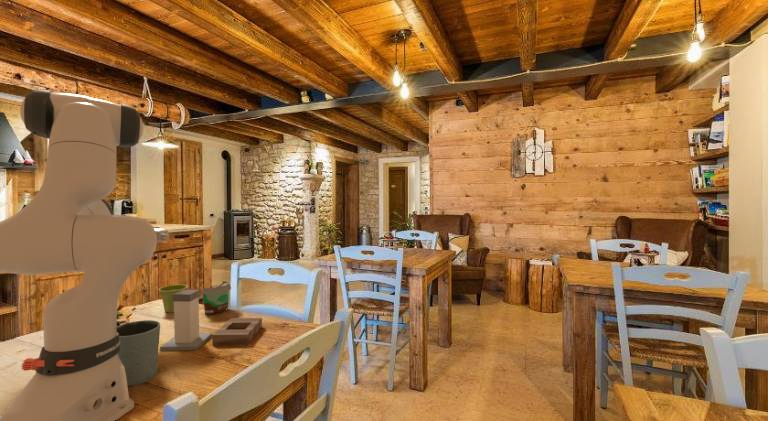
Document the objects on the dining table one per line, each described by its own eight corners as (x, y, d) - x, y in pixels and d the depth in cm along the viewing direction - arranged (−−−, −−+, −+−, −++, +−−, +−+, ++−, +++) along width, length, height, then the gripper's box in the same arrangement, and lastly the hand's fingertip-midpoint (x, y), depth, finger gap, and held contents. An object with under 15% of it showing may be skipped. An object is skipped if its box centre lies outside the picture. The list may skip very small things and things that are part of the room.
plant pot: (179, 314, 130) (178, 290, 130) (153, 314, 131) (152, 290, 130) (193, 306, 140) (192, 284, 139) (169, 306, 140) (168, 284, 140)
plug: (191, 343, 102) (190, 294, 102) (173, 343, 103) (172, 294, 102) (200, 336, 107) (199, 289, 107) (183, 336, 108) (182, 289, 107)
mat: (196, 349, 100) (196, 346, 100) (159, 350, 100) (159, 347, 100) (212, 336, 110) (212, 332, 110) (178, 336, 110) (178, 333, 110)
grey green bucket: (152, 363, 92) (151, 317, 92) (168, 376, 86) (167, 326, 85) (103, 379, 84) (102, 328, 84) (117, 394, 78) (115, 339, 77)
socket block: (247, 344, 104) (247, 334, 104) (212, 345, 103) (212, 334, 103) (261, 327, 118) (261, 318, 118) (230, 327, 117) (230, 318, 117)
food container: (217, 317, 127) (216, 289, 127) (202, 316, 129) (201, 288, 128) (238, 307, 139) (237, 281, 139) (224, 306, 141) (223, 280, 140)
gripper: (82, 230, 102) (118, 232, 97) (148, 224, 121) (181, 226, 117) (82, 252, 102) (118, 255, 98) (149, 243, 121) (181, 245, 117)
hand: (153, 239), depth 107 cm, fingers open, 8 cm apart
